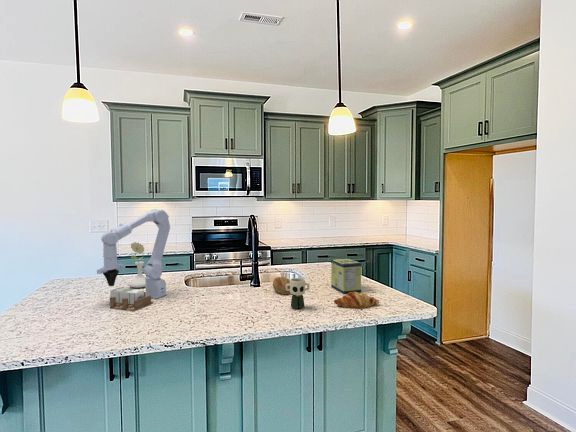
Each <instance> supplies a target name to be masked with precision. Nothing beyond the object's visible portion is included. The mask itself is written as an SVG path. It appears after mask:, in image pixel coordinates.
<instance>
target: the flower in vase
mask: <svg viewBox="0 0 576 432" xmlns="http://www.w3.org/2000/svg"><path fill="white" fill-rule="evenodd" d="M130 249H131V250H132V251H133V252H134V253H135V254H134V255H131V257H130V259H132V260H136V261H135V262H134V264H135V265H136V267H137V276H135V278H133V279H132V280H131V281H130V282H129V285H128V286H129V287H132V288H134V289H139V288H144V287H145V288H146V280H145V278H146V276H144V273H143V266H144V263H145V261H142V260H141V259H143V256H142V257H139V258H137V256H136V255H137V254H143V253H144V252H145V246H144V245H143V244H141V243H140V242H136V241H133V242H131V243H130ZM139 260H141V261H139Z"/></svg>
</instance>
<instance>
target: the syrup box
mask: <svg viewBox="0 0 576 432" xmlns="http://www.w3.org/2000/svg"><path fill="white" fill-rule="evenodd" d="M144 292H145V290H144V289H139V288H125V287H116V288H114V289H111V290H110V293H109V295H110V296H109V298H110V297H116V304H117V303H122V299H123V298H128V305H130V304H134V301H136V300H138V299H141V298H143V297H144Z"/></svg>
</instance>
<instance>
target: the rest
mask: <svg viewBox="0 0 576 432" xmlns="http://www.w3.org/2000/svg"><path fill="white" fill-rule="evenodd" d="M152 304H154V301H152V298H151V295H149V296H146V291H144V297H143V298H141V299H138V300H136V301H134V304H128V298H123V299H122V303H116V297H110V296H109V308H110V309H113V310H121V311H131V312H136V311H138V310H140V309H142V308H145V307H147V306H150V305H152Z"/></svg>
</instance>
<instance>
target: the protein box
mask: <svg viewBox="0 0 576 432" xmlns="http://www.w3.org/2000/svg"><path fill="white" fill-rule="evenodd" d="M330 262H331V265H330V268H331V269H330V271H331V272H330V280H331V281H330V285H331V288H333V289H334V290H335V291H337V292H339V293H341V294H343V295H347V294H348V293H349V292H358V293H362V263H361V262H359V261H356V260H353V259H351V258H335V259H332V258H331V260H330Z"/></svg>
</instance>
